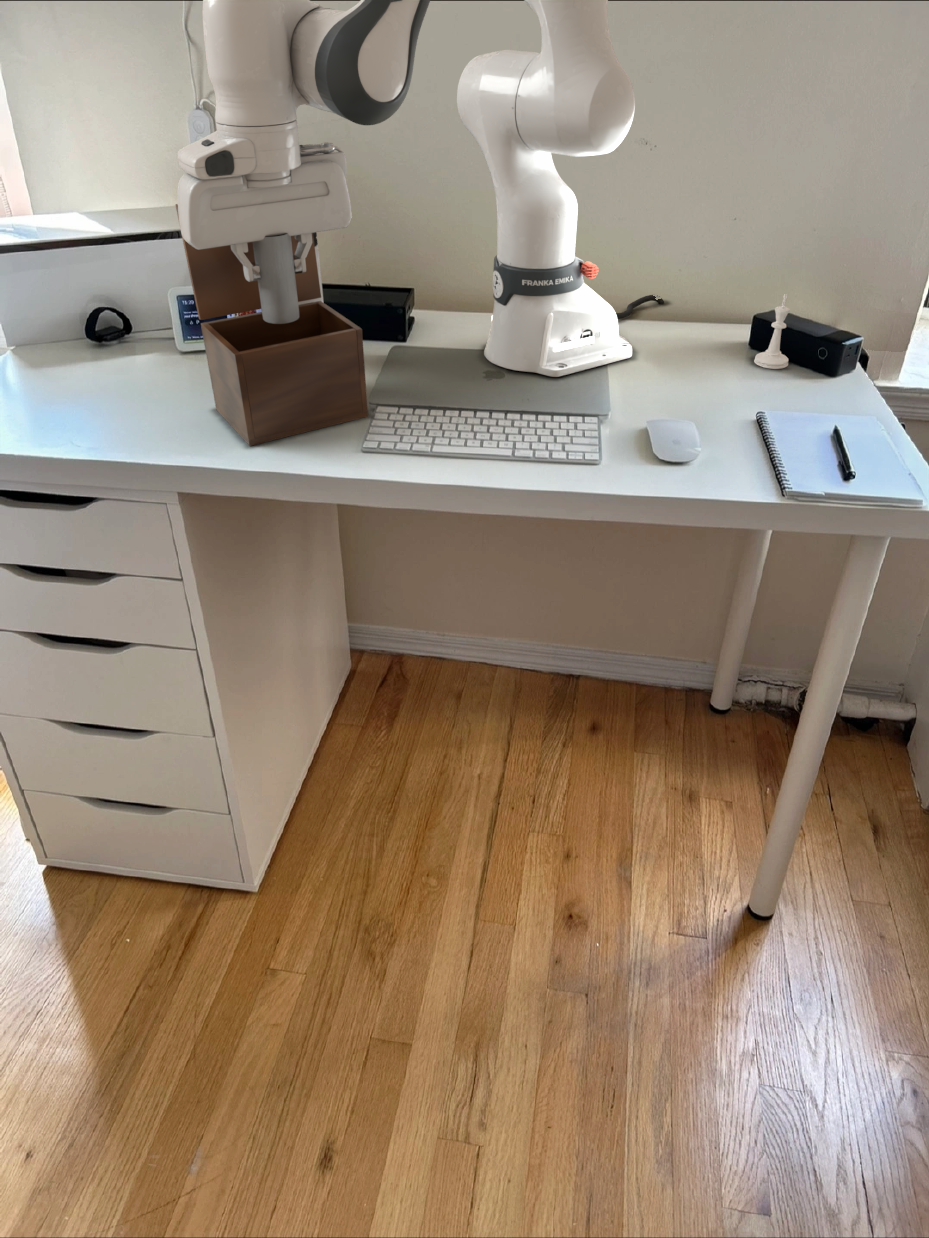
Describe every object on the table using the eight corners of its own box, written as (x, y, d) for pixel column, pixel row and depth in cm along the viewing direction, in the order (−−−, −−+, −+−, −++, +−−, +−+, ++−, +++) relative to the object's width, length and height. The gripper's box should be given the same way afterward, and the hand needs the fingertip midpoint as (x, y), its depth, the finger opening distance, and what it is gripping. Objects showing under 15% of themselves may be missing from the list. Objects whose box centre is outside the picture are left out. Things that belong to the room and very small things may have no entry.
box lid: (307, 188, 113) (304, 187, 113) (177, 205, 106) (175, 204, 107) (321, 297, 120) (319, 296, 121) (200, 320, 113) (198, 319, 114)
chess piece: (751, 366, 133) (765, 298, 127) (756, 354, 137) (769, 287, 130) (786, 371, 131) (801, 302, 125) (789, 359, 135) (805, 291, 129)
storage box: (368, 416, 120) (362, 328, 112) (249, 446, 113) (234, 355, 105) (328, 384, 128) (320, 300, 121) (216, 410, 121) (200, 323, 114)
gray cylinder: (269, 326, 110) (257, 238, 103) (258, 315, 113) (246, 228, 107) (304, 321, 111) (295, 233, 105) (292, 310, 115) (283, 224, 108)
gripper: (332, 136, 107) (342, 257, 115) (162, 154, 99) (186, 282, 107) (356, 145, 103) (364, 269, 111) (180, 164, 94) (203, 297, 103)
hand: (275, 276), depth 109 cm, fingers closed on gray cylinder, 4 cm apart
